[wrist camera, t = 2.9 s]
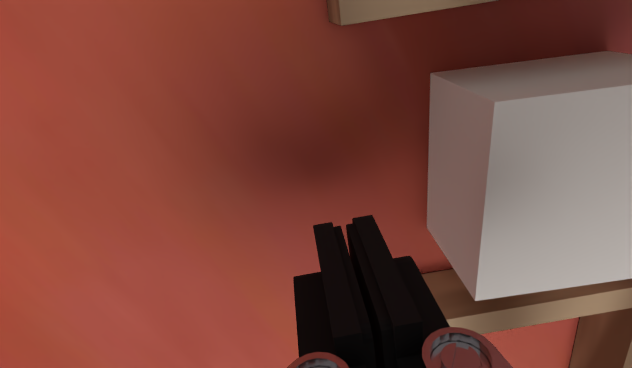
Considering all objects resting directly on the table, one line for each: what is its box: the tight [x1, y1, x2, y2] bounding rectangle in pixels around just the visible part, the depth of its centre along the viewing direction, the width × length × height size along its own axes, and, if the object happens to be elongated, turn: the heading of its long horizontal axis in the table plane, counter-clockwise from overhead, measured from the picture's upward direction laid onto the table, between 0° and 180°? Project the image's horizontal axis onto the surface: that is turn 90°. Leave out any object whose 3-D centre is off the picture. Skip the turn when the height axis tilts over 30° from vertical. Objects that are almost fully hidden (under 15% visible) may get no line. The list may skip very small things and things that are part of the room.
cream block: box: [427, 51, 632, 301], centre depth 14 cm, size 7×7×5 cm
